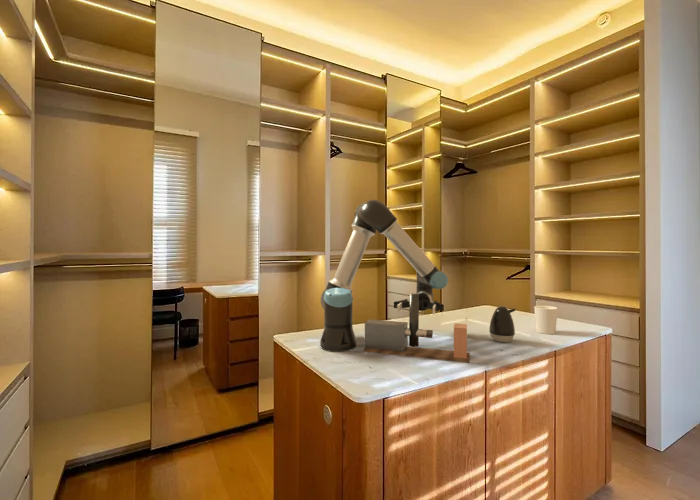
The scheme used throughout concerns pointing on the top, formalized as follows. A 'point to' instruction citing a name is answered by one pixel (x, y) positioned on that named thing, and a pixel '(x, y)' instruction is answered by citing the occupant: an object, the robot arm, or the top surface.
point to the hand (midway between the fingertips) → (415, 309)
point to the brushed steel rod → (415, 322)
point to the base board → (424, 353)
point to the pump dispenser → (502, 325)
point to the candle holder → (545, 319)
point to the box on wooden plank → (386, 335)
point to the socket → (460, 340)
